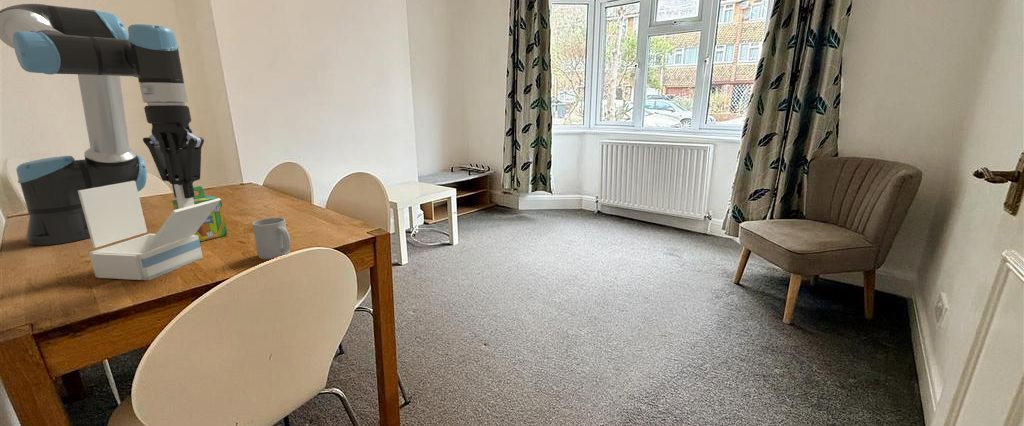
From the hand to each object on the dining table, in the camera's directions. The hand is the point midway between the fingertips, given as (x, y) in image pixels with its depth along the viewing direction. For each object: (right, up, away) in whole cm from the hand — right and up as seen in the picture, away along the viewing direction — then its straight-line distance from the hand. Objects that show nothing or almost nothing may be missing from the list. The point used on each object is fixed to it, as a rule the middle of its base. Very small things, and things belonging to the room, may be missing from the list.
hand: (187, 211), depth 96 cm
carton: (-13, -13, +5) cm, 19 cm away
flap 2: (-6, -7, +3) cm, 10 cm away
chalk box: (-17, -8, +28) cm, 34 cm away
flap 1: (-19, -7, +5) cm, 21 cm away
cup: (+14, -11, +12) cm, 22 cm away
